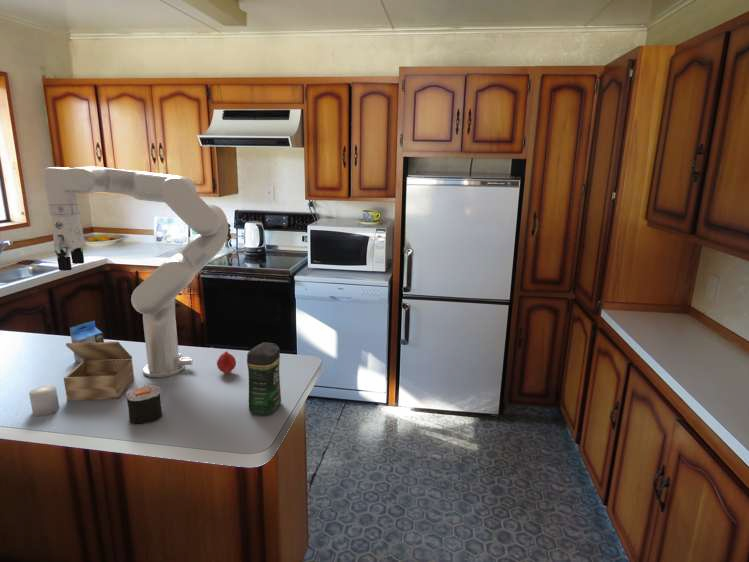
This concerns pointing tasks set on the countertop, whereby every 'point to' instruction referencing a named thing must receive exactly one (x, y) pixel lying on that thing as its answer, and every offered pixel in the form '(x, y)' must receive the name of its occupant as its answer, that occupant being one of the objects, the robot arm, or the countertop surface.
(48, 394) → the cream-capped white cylinder
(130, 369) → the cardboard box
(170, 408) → the countertop surface
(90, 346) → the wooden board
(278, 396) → the coffee jar
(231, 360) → the onion
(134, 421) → the sushi
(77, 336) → the label tape box
